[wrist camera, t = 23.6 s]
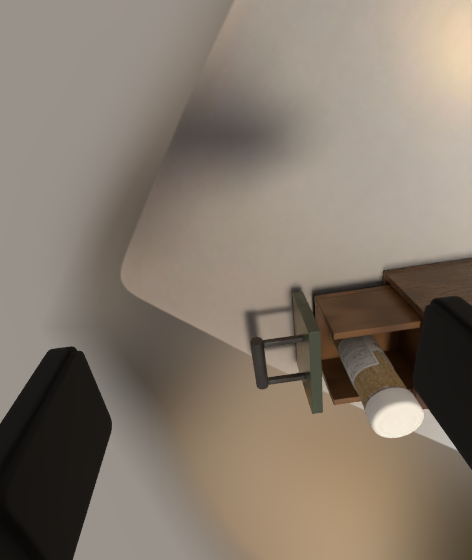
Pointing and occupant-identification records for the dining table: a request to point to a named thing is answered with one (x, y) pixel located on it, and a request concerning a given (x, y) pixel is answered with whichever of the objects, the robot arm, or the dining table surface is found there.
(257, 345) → the drawer
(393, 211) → the dining table surface
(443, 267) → the cabinet
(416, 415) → the sprinkles bottle
